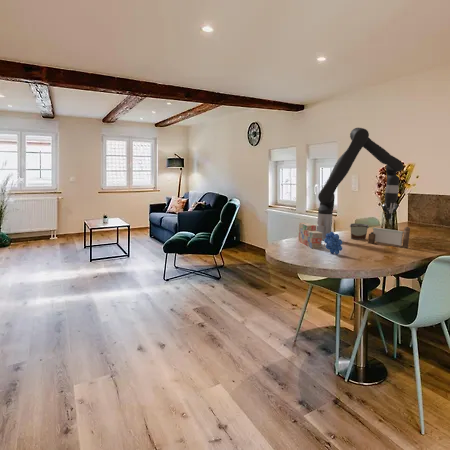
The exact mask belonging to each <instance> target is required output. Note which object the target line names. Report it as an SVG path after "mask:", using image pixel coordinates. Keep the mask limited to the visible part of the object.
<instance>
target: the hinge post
mask: <svg viewBox="0 0 450 450" xmlns="http://www.w3.org/2000/svg"><path fill="white" fill-rule="evenodd" d="M403 230H404V232H403V236H402V246H403V247H401V248H403V249H409V242H410V232H411V228H410V227H409V226H405V227H404V229H403Z"/></svg>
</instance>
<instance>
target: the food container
mask: <svg viewBox="0 0 450 450" xmlns="http://www.w3.org/2000/svg"><path fill="white" fill-rule="evenodd" d="M369 227H370V226H369V224H366V223H350V225H349V228H350V239H351V240H366V239H367V233H368V229H369Z"/></svg>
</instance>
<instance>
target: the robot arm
mask: <svg viewBox="0 0 450 450" xmlns="http://www.w3.org/2000/svg"><path fill="white" fill-rule="evenodd" d="M369 136H370V133H369V131H368V129H366V128H364V127H363V128H362V127H355V128H353V129H352V130H351V131H350V134H349V138H350V140H351V142H350V144H349V146H348V147H347V149H345V150H344V152H343V154H342V155H340V157H339V158H338V159H337V161H336V163H335V164H334V166H333V168H332V170H331V173H330V175H329V177H328V179H327V181H326V182H325V183H324V186H323V187H322V189H321V190H320V191H319V192H318V196H317V199H318V201H319V207H318V211H317V224H316V231H319V232H321V233H322V241H324V239H325V238H326V234H327V233H329V234H330V232H332V228H333V227H332V226H333V214H334V213H333V212H334V209H335V208H334V207H335V193H336V191H337V188H338V186H339V185H340V184H341V182H343V180H344V179H345V178H346V176H347V174H348V173H349V171H350V169H352V166H353V164H354V162H355V160H356V159H357V157H358V155H359V153H360V151H361V150H362V149H365V150H366V151H367V152H369V153H370V154H371V155H372V156H373V157H374V158H375V159H377V160H378V162H380V163H381V164H383V165H386V166H385V169H386V170H385V171H386V177H387V180H386V187H385V191H384V200H385V201H384V203H383V204H381V205H380V206H381V207H382V209H383V212H384V213H386V217H385V218H386V219H387V220H391V219H392V215H393V213H395V212H396V211H397V209H398V208H399V206H400V204H397V200H398V199H399V198H398V196H399V188H400V187H399V185H400V176H398V175H397V173H399V172H401V171H402V170H403V168H404V163H403V162H402V161H401V160H400V159H398V158H397V157H395V156H394V155H392V154H391V153H389V152H388V151H387V150H386V149H385V148H384V147H382V146H380V145H379V144H378V143H376V142H375V141H374V140H372V139H371V138H370V137H369Z"/></svg>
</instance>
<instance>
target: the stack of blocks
mask: <svg viewBox="0 0 450 450" xmlns="http://www.w3.org/2000/svg"><path fill="white" fill-rule="evenodd" d="M298 225H299V226H298V242H299V243H301V244H303V245H305V246H306V247H308V248H311V249H322V241H323V240H322V233H321V232H319V231H317V224H312V223H310V222H299V223H298Z"/></svg>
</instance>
